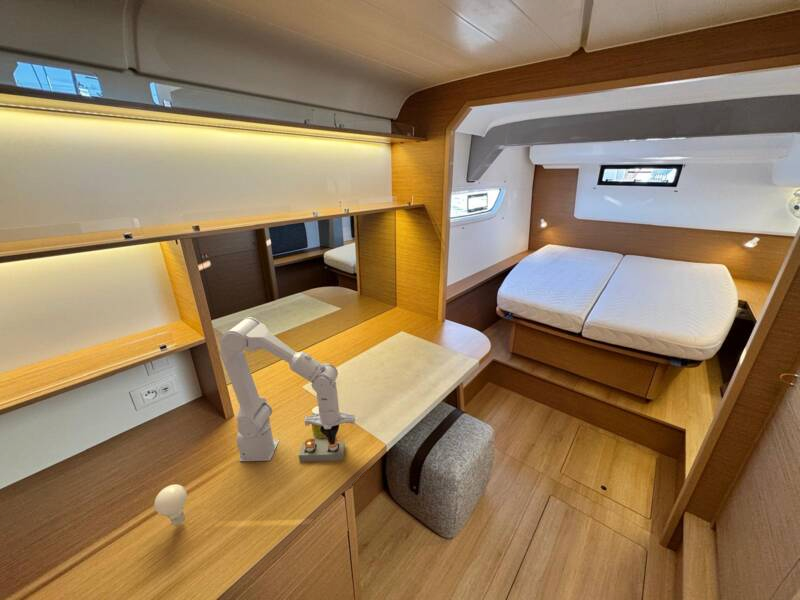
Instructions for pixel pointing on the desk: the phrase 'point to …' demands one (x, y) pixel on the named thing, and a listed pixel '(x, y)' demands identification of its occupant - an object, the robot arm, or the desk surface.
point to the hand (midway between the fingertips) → (332, 442)
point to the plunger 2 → (333, 446)
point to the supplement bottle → (316, 428)
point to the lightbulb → (171, 503)
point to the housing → (322, 452)
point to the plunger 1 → (310, 446)
